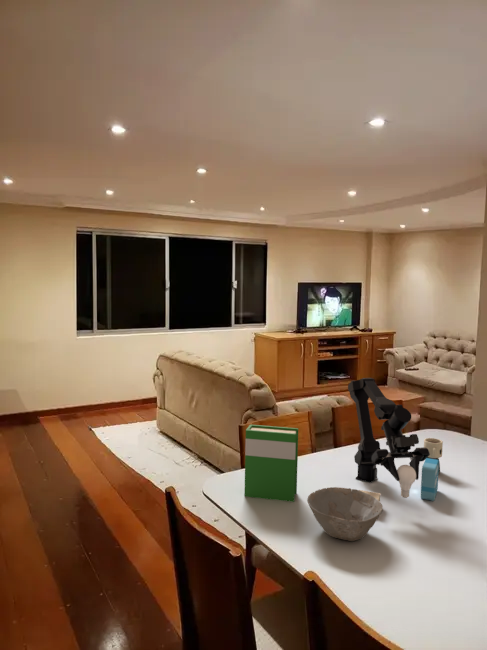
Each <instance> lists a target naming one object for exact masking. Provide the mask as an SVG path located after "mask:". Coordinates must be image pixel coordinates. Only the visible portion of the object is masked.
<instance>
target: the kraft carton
mask: <svg viewBox="0 0 487 650" xmlns="http://www.w3.org/2000/svg"><path fill="white" fill-rule="evenodd" d="M359 490H360V491H362V492H364V493H367V494H369V495H371V496H373V497H375V498H376V499H377V500H378V501H379V502H380V503H381V493H380V492H376V491H375V492H373V491H368V490H361V489H359Z"/></svg>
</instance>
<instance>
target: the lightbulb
mask: <svg viewBox="0 0 487 650" xmlns="http://www.w3.org/2000/svg"><path fill="white" fill-rule="evenodd" d="M396 469H397V472H398V475H399V481H398V482H399V487H400V496H401V497H402V498H403V499H407V498H409V497H410V490H411V487H412V485H413V484H414V483H415V481H417V480H416V472H415V470H414V468H413V467H411V466H410V464H402V465H399V467H398V468H396Z"/></svg>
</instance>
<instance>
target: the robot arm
mask: <svg viewBox="0 0 487 650" xmlns="http://www.w3.org/2000/svg"><path fill="white" fill-rule="evenodd" d="M347 391H348V392H349V395H350V398H351V399H352V401H353V402H354V404H355V407H356V408H355V409H356V416H357V420H358V421H357V422H358V428H359V433H360V434H359V435H360V436H359V437H360V441H359V443H358V446H357V451H356V453H355V454H354V462H355V463H356V464H357V476H356V477H355V480H358V481H359V480H360V481H363V482H366V483H374V481H376V480H378V467H377V466H378V465H379V466H381V467H384V468H385V469H386V470H387V471H388V473H390V474H391V476H392V477H393V478H394V479H395V480H396V481H397V482H399V475H398V472H397V469H398V468H397V466H396V463H395V459H407V458H409V459H410V462H409V463H408V465H409V466H411V467H413V468H414V470H415V472H416V480H415V481H418V480H419V478H420V477H419V476H420V475H419V474H420V472H419V471H420V463H421V462H425V459H426V458H427V457H428V456H429V455H430V452H429V450H428V449H427V448H426V447H424V446H423V447H416V448H415V449H414V450H413V451H410V450H411V449H412V447H415V445H418V444H419V442H420V439H419V436H418V434H417V433H412V434H409V436H406V435H405V434H403V432H402V431H403V429H404V428H405V427H406V426H407V425H408V424H409V423H410V421H411V420H412V413H411V412H410V411H409V410H408V409H407V408H405V407H404V406H403V404H396V403H395V401H393V400H392V399H389V398H387V397H386V396H385V395H384V393H383V392H382V391H381V389H380V387H379V386H378V385H377V383H376V380H375V378H373V377H363V378H360V379H358V380H351V381H350V382H349V383H348V385H347ZM369 400H370V401H371V402H372V404H373V406H374V409H373V411H374V416H376V418H377V419H378V420H381V421H382V420H383V421H384V420H385V421H384V422H382V425H381V429H380V430H381V431H383V432H384V435H385V439H386V442H385V444H386V446H388V449H389V450H388V449H387V448H381V445H380V444H381V443H380V441H379V440H376V439H375V438H374V432H373V427H372V420H371V415H370V407H369Z"/></svg>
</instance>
